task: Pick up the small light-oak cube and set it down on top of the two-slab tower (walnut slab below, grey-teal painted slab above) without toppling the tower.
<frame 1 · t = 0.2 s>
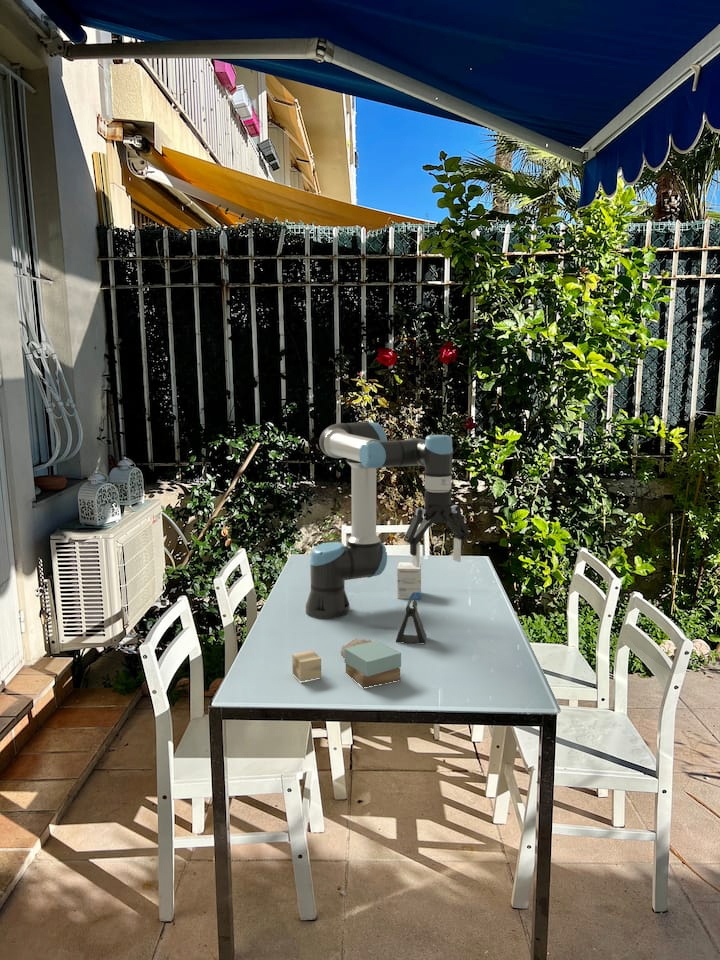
hand: (436, 563, 203), 28 cm above the table, fingers open, 13 cm apart
tower top: (372, 664, 193), point 4 cm above the table, touching tower base
ink box: (409, 596, 263), on the table
tower base: (372, 678, 194), on the table, touching tower top
phone stand: (411, 640, 220), on the table
oak block: (306, 677, 194), on the table
stone: (361, 653, 211), on the table
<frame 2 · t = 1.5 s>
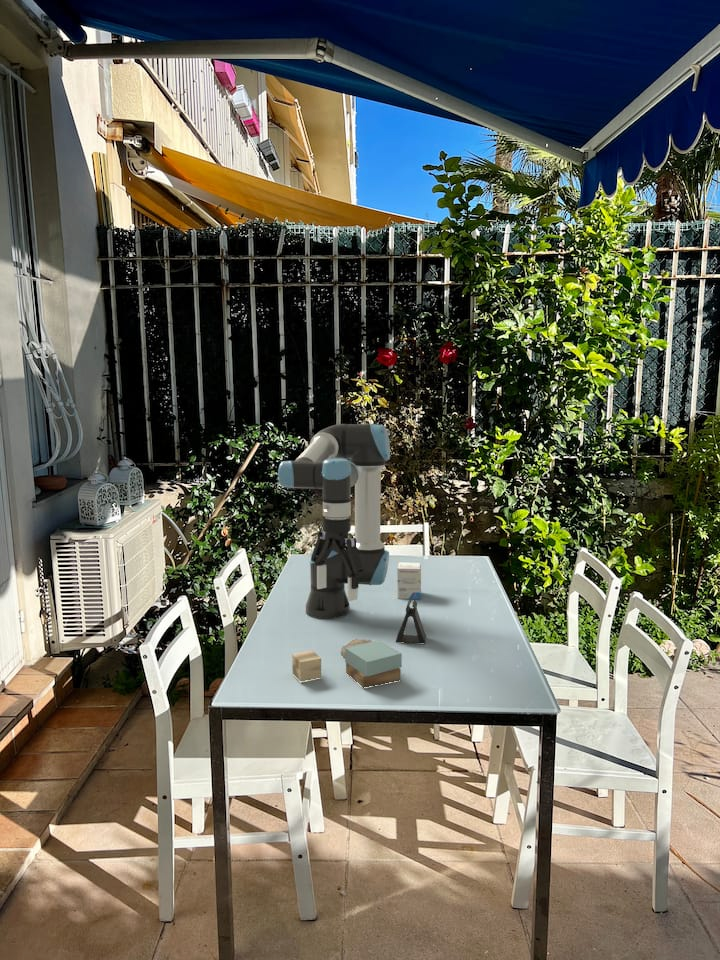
hand: (336, 594, 193), 22 cm above the table, fingers open, 13 cm apart
nothing on the table moved.
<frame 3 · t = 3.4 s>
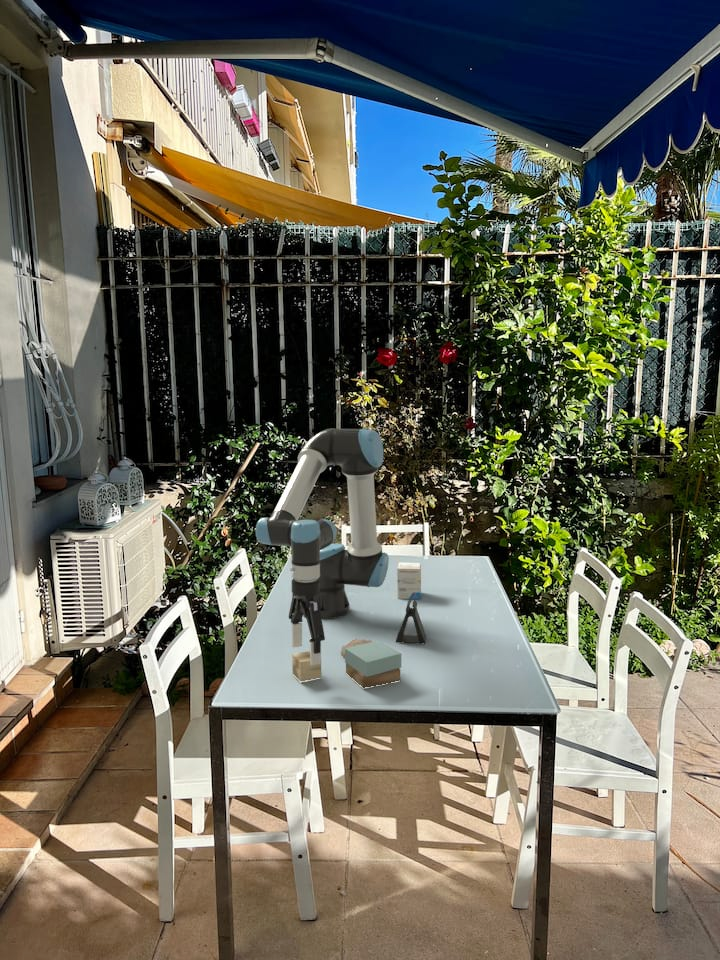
hand: (306, 655, 192), 6 cm above the table, fingers open, 13 cm apart
nothing on the table moved.
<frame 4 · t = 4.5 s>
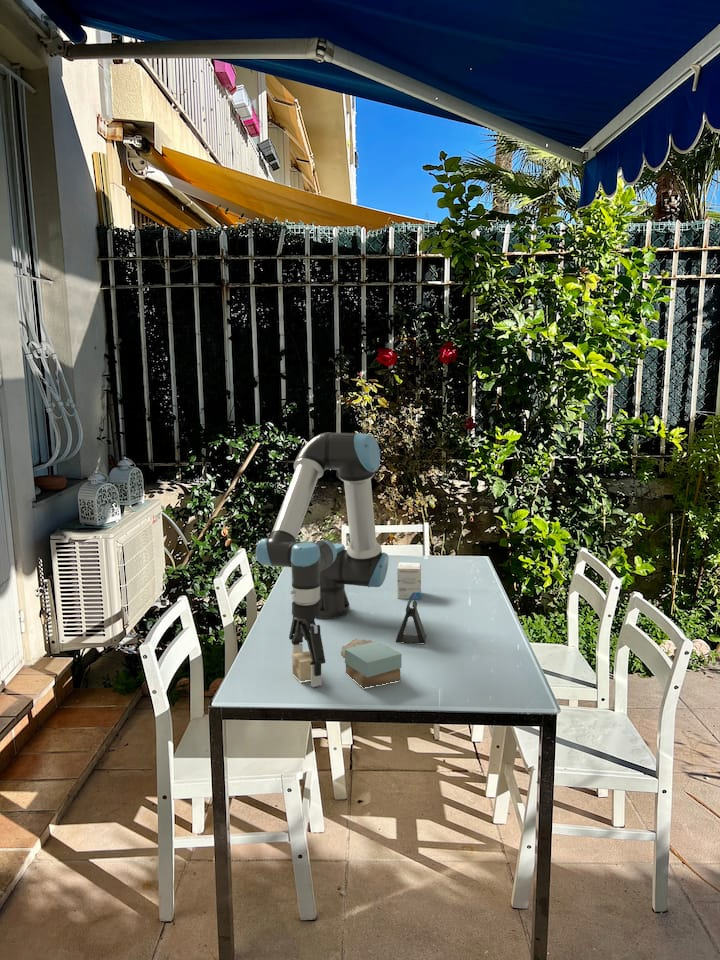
hand: (306, 676, 194), 0 cm above the table, fingers open, 13 cm apart
nothing on the table moved.
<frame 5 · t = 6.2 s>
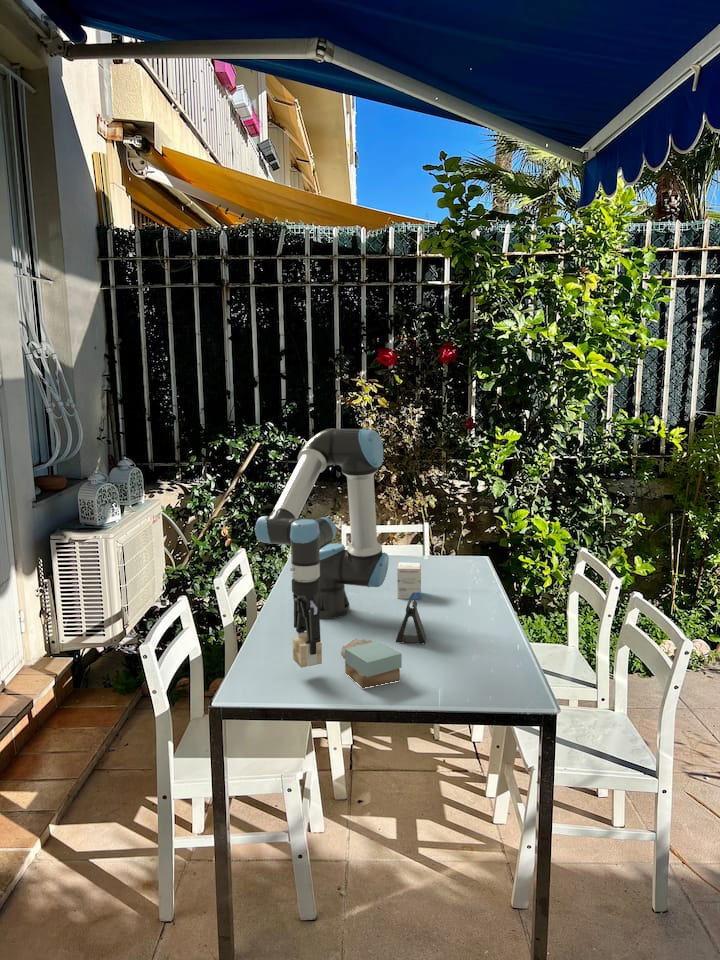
hand: (307, 659, 193), 5 cm above the table, fingers closed on oak block, 6 cm apart
tower top: (373, 665, 193), point 4 cm above the table
tower base: (372, 679, 193), on the table
oak block: (307, 661, 194), point 4 cm above the table, touching gripper
everything else where it was.
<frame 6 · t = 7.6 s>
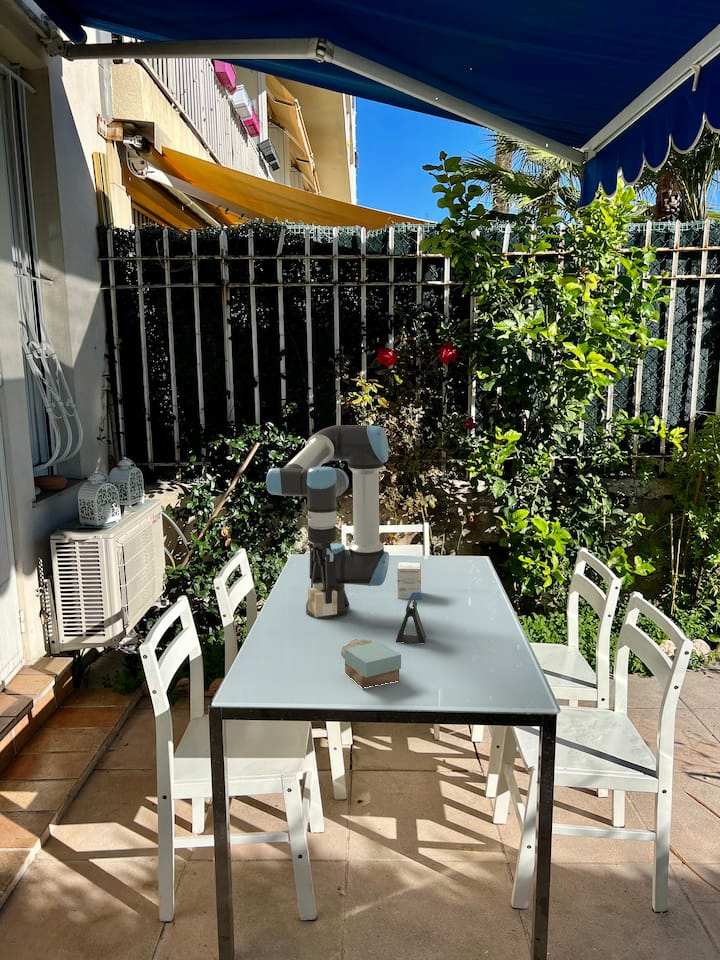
hand: (322, 610, 191), 19 cm above the table, fingers closed on oak block, 6 cm apart
tower top: (372, 665, 193), point 3 cm above the table, touching tower base
tower base: (371, 679, 193), on the table, touching tower top
oak block: (322, 611, 191), point 18 cm above the table, touching gripper
everything else where it was.
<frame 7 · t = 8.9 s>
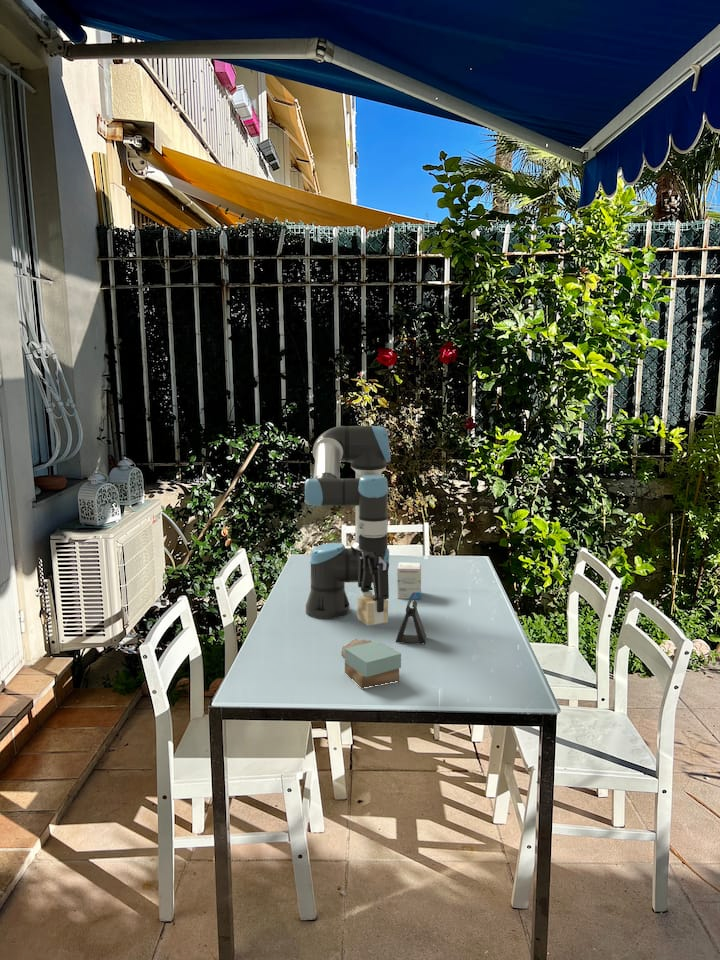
hand: (372, 618, 191), 17 cm above the table, fingers closed on oak block, 6 cm apart
oak block: (372, 620, 191), point 16 cm above the table, touching gripper
everything else where it was.
when the fingers open (8 cm above the table, at t = 11.0 s): oak block stays where it is, resting on tower top.
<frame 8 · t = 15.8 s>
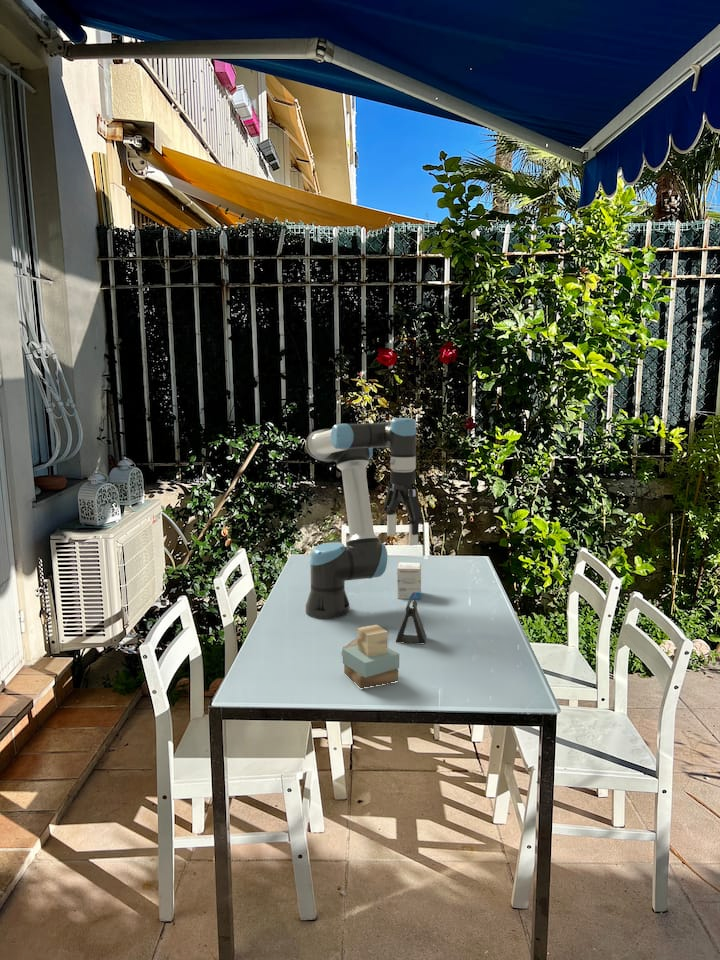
hand: (402, 540, 215), 32 cm above the table, fingers open, 13 cm apart
tower top: (370, 665, 192), point 4 cm above the table, touching oak block, tower base
oak block: (372, 651, 192), point 8 cm above the table, touching tower top
everything else where it was.
at the end: oak block inside the target area on the tower top (0.6 cm from its centre), point 4.0 cm above the tower top's base; oak block tilted 0°; tower top moved 1.0 cm from its start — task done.
